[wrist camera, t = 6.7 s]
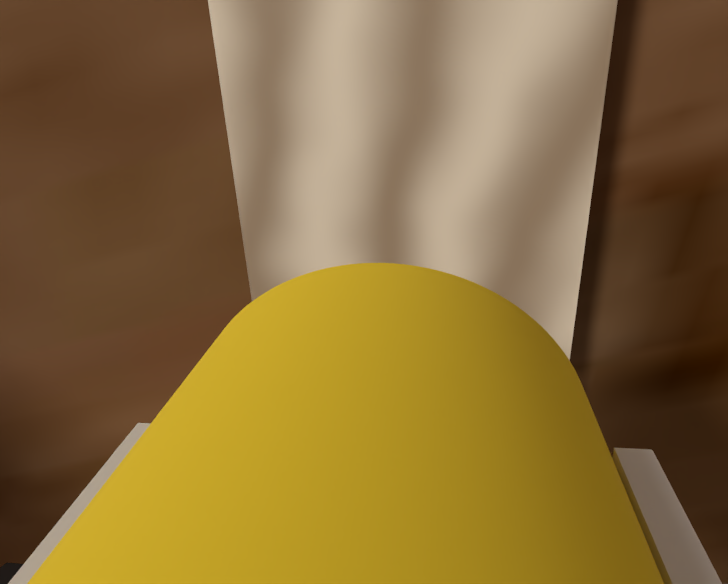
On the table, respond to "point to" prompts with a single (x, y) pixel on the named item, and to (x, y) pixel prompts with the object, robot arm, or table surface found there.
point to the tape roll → (367, 452)
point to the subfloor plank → (418, 138)
